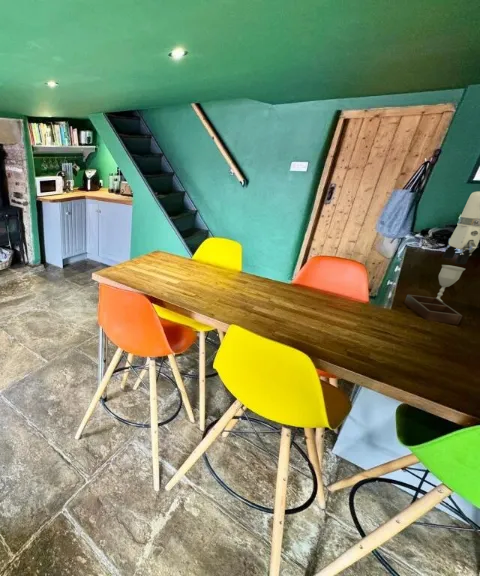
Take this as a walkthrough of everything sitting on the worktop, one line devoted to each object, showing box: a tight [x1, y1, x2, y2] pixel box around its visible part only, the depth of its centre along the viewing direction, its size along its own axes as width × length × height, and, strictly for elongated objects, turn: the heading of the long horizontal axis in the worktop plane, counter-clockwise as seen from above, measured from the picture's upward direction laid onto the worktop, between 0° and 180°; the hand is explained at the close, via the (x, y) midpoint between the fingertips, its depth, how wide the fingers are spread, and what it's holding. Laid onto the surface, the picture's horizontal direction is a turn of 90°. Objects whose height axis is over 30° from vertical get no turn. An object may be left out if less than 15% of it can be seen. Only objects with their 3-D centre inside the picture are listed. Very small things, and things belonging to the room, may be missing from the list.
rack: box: [403, 293, 463, 325], centre depth 130 cm, size 10×19×5 cm, turn 155°
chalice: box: [435, 264, 466, 303], centre depth 138 cm, size 7×7×18 cm
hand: (453, 260), depth 134 cm, fingers open, 9 cm apart
